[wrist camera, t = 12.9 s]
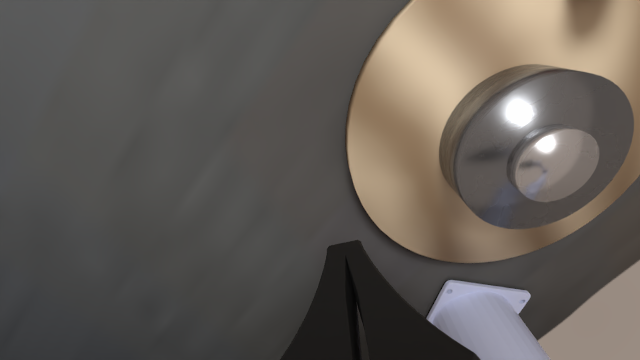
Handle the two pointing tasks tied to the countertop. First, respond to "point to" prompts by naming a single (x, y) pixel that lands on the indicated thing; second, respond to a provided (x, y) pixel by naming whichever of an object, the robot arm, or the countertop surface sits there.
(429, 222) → the beige round shallow disc
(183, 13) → the countertop surface
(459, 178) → the cover
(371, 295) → the robot arm
